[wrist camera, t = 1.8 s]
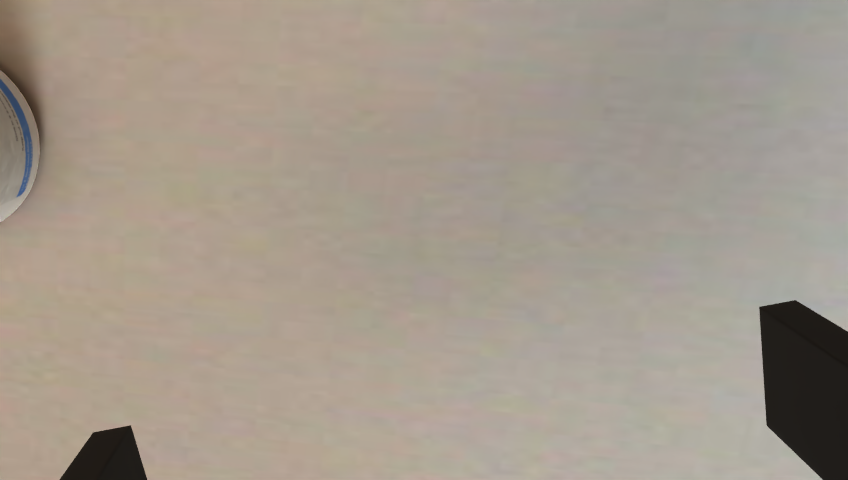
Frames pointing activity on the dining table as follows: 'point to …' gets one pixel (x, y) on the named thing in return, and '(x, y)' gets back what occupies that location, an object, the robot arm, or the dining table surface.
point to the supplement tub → (16, 147)
